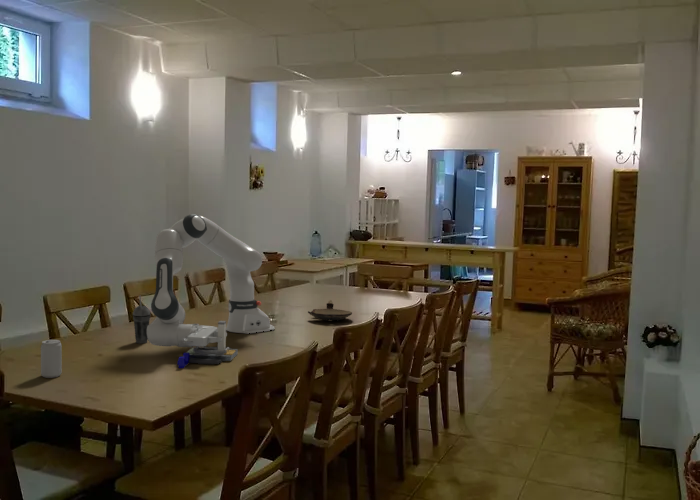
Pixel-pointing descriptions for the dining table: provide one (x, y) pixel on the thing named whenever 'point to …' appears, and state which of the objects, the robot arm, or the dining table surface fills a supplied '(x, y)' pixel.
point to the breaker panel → (212, 353)
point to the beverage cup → (141, 322)
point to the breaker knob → (222, 335)
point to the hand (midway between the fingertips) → (224, 337)
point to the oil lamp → (330, 313)
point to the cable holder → (183, 360)
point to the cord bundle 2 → (205, 361)
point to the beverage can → (51, 358)
